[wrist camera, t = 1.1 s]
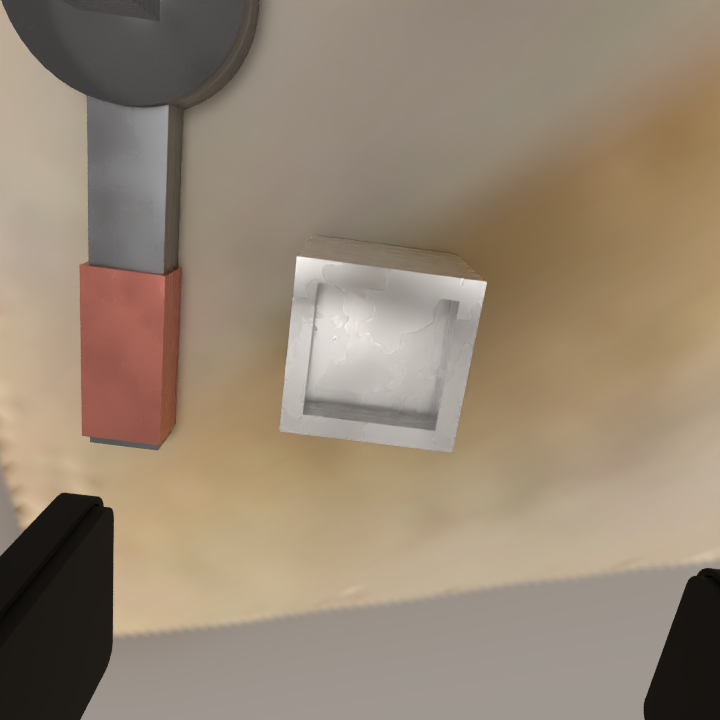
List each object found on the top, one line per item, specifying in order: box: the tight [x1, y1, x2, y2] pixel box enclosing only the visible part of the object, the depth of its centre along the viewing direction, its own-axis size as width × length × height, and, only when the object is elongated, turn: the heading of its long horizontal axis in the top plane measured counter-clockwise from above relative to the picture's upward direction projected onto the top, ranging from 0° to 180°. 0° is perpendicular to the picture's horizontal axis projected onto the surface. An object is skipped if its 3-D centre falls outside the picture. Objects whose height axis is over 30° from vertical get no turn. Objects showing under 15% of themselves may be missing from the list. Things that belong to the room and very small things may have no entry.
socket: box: [279, 235, 487, 453], centre depth 24 cm, size 7×7×7 cm
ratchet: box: [2, 0, 259, 450], centre depth 23 cm, size 24×9×7 cm, turn 172°
